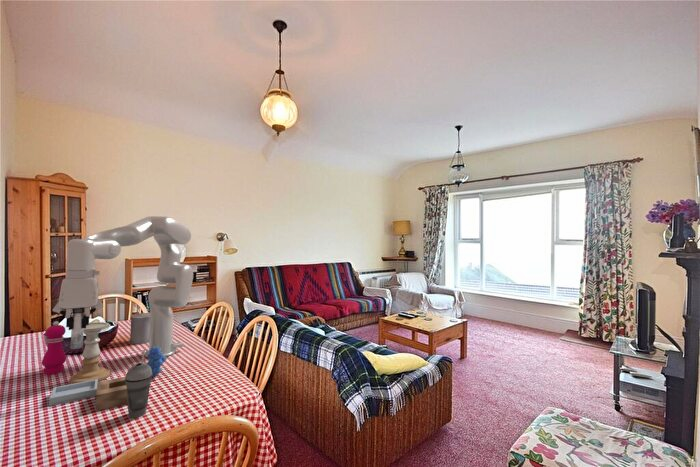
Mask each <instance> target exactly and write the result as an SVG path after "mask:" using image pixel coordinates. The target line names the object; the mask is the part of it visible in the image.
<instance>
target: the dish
mask: <svg viewBox="0 0 700 467" xmlns="http://www.w3.org/2000/svg"><path fill="white" fill-rule="evenodd" d="M97 382H98V379H96V380H91V381H85V382H80V383H75V384H64V385H60V386H55V387H53V388H52V391H51V393H50V396H49V402H48V403H49V404H48V406H49V407H51V406H52V407H53V406H56V405H61V404H62V405H63V404H65V403H66V404H68V403H70V402H76V401H81V400H85V399H90V398H95V397H96V393H97Z"/></svg>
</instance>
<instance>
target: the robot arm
mask: <svg viewBox="0 0 700 467" xmlns="http://www.w3.org/2000/svg"><path fill="white" fill-rule="evenodd" d="M191 232H192V231H190V229H189V228H188V227H187V226H186V225H184V224H182V223H181V222H179V221H178V220H176V219H174V218H172V217H169V216H161V215H159V216H158V215H157V216H155V215H151V216H150V215H149V216H145V217H144V218H141V219H139V220H136V221H134V222H132V223H129V224H127V225H122V226H119V227H114V228H111V229H107V230H103V231H99V232H95V233H92V234H91V235H88V236H86V237H83V238H79V239H78V238H77V239H76V238H73V239H70V240H68V242H67V245H66V246H67V249H66V265H65V266H66V267H65V278H63V279H62V282H61V286H60V290H59V297H58V302H57V303H56V305H55V306H54V307H53V308H52V312H55V313H58V314H60V315H61V316H63V317H64V318H65V319H66V324H65V328H68V331H71V329H72V309H76V308H85V312H84V322H83V328H86V325H89V323H90V316H91V315H92V314H93V313H94V312H96V311H98V310H100V309H102V308H103V307H104V305H103V303H102V301H101V300H100V299H99V284H98V278H97V277H95V276H99V275H100V270H99V271H98V270H95V266H96V260H112V259H115V258H117V257H118V256H119V255H120V253H121V251H122V247H129V246H134V245H138V244H140V243H142V242H144V241H146V240H147V239H149V238H152V237H153V239H154V240H155V242H156V243H157V245H158V247H159V249H160V260H159V264H158V269H157V274H156V279H157V281H158V282H159V283H163V284H172V285H173V284H175V286H172V285H170V286H168V285H167V286H166V285H159V286H155V287H153V288H152V289H151V290H150V291H149V293H148V295H147V296H148V298H147V300H148V305H149V313H150V334H149V342H148V350H147V351H146V350H145V353H144V358H145V357H146V358H148V357H147V356H148V354H149V353H150V352H149V351H150V349H151V348H152V347H159V348H160V349H161V351H160V352H161V353H162V354H163V356H165V357H166V358H167V357H169V356H172V355H174V354H175V353H176V352H177V349H178V348H184V342H174V341H173V340H174V339H173V336H174V312H173V309H172V308H174V309H175V308H176V309H178V308H183V307H186V306H187V304H188V303H189V299H190V294H191V290H192V286H193V285H192V284H193V280H194V270H193V268H192V266H190V265H189V264H185V263H180V262H181V257H182V253H181V249H180V248H179V246H178V245H180V246H182V245H183V246H184V245H187V244H188V243H189V242H190V241H191V238H192V233H191ZM148 359H149V358H148Z"/></svg>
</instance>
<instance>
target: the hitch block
mask: <svg viewBox="0 0 700 467" xmlns="http://www.w3.org/2000/svg"><path fill="white" fill-rule="evenodd" d="M125 378H126V376H123V377H122V376H121V377H117V378H112V379H106V380H105V379H104V380H101V381H99V382H97V393H96V396H95V397H96V398H95V412H97V411H102V410H107V409H112V408H115V407H120V406H124V405H128V400H127V387H126V381H125Z"/></svg>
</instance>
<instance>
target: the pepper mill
mask: <svg viewBox="0 0 700 467" xmlns="http://www.w3.org/2000/svg"><path fill="white" fill-rule="evenodd" d="M65 334H66V326H64V325H61V324H60V322H59V321H57V320H56V321H54V322H52V325H51V326H49V327H47V328H46V330H45V332H44V335H45V337H46V343H47V348H46V349H47V350H46V352H45V353H44V356H43V357H42V359H41V365H42V367H43V368H42V374H43V375H48V376H49V375H56V374H59V373H62V372H63V371H64V370H65V364H64V363H66V361H67V355H66V352H65V351H64V349H63V341H64V335H65Z"/></svg>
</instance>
